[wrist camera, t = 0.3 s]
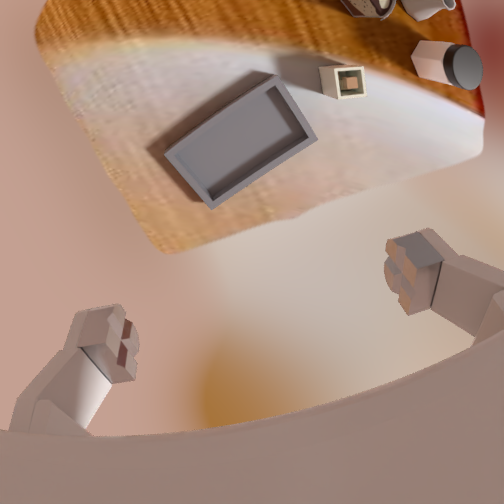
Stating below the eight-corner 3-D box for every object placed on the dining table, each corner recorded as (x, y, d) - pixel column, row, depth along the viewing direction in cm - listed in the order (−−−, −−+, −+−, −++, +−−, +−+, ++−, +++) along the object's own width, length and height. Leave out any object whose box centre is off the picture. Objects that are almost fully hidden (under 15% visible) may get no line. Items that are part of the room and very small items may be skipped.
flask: (394, -2, 38) (426, -7, 30) (414, -19, 36) (446, -24, 28) (417, 27, 42) (450, 27, 34) (436, 10, 39) (469, 9, 31)
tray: (165, 149, 51) (163, 154, 48) (273, 74, 46) (277, 75, 44) (211, 202, 58) (211, 210, 55) (312, 135, 53) (318, 139, 50)
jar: (448, 74, 47) (488, 84, 37) (421, 87, 49) (461, 99, 39) (433, 34, 42) (474, 38, 33) (404, 46, 44) (445, 50, 34)
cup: (318, 66, 46) (335, 68, 40) (345, 64, 46) (364, 66, 40) (322, 94, 49) (339, 100, 43) (348, 91, 49) (368, 97, 43)
